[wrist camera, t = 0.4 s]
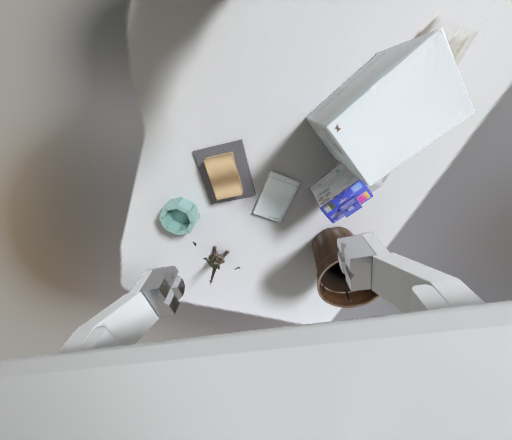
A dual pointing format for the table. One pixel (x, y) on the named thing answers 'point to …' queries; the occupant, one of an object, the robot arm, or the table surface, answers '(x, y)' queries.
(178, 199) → the bowl
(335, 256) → the plant pot
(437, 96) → the supplement box
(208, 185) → the mat
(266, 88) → the table surface
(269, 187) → the hard drive
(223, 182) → the lid
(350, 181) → the ink cartridge box
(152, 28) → the table surface
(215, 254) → the eiffel tower figurine
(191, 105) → the table surface
